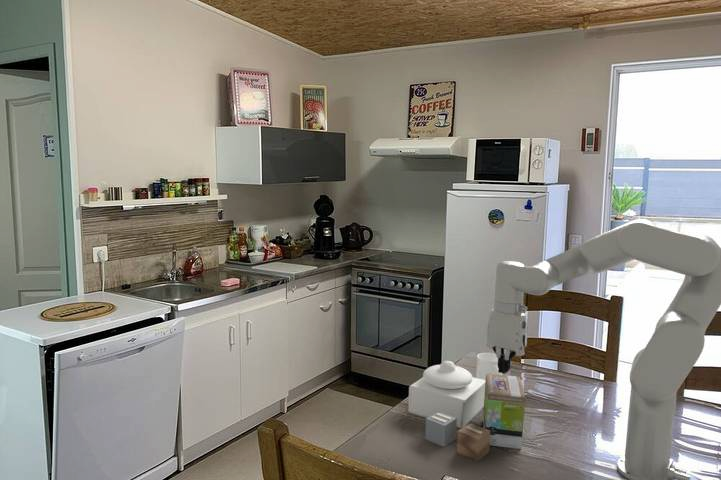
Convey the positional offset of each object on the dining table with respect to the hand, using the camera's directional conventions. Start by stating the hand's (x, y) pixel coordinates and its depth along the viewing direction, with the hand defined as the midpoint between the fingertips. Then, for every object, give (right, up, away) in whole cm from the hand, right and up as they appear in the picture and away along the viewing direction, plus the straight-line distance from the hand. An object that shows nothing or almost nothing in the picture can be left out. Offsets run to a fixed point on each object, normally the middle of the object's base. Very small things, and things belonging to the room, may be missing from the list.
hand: (503, 371), depth 145 cm
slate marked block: (-18, -18, -1) cm, 25 cm away
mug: (+5, -14, +33) cm, 36 cm away
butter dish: (-13, -16, +17) cm, 27 cm away
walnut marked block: (-10, -19, -8) cm, 23 cm away
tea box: (0, -18, +2) cm, 18 cm away
